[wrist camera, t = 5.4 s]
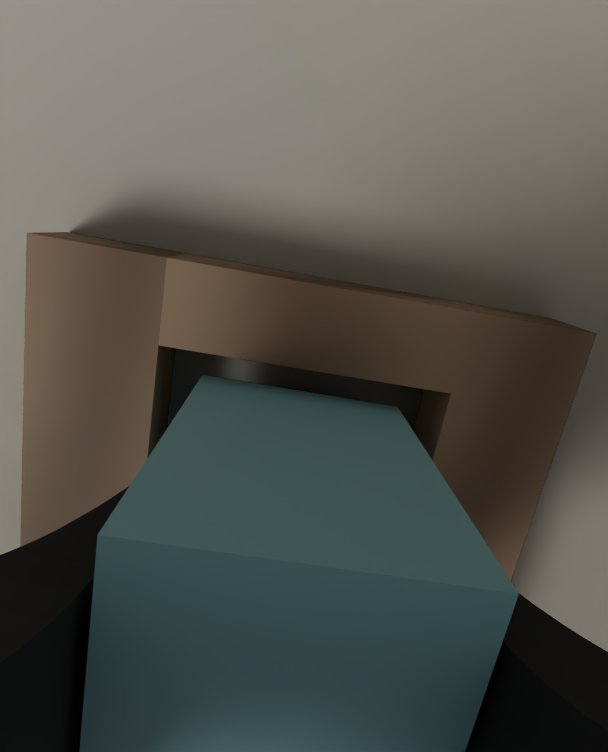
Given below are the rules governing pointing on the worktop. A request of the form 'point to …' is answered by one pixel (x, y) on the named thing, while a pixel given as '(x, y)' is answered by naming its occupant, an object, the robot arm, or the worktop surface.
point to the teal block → (290, 587)
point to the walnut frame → (285, 348)
